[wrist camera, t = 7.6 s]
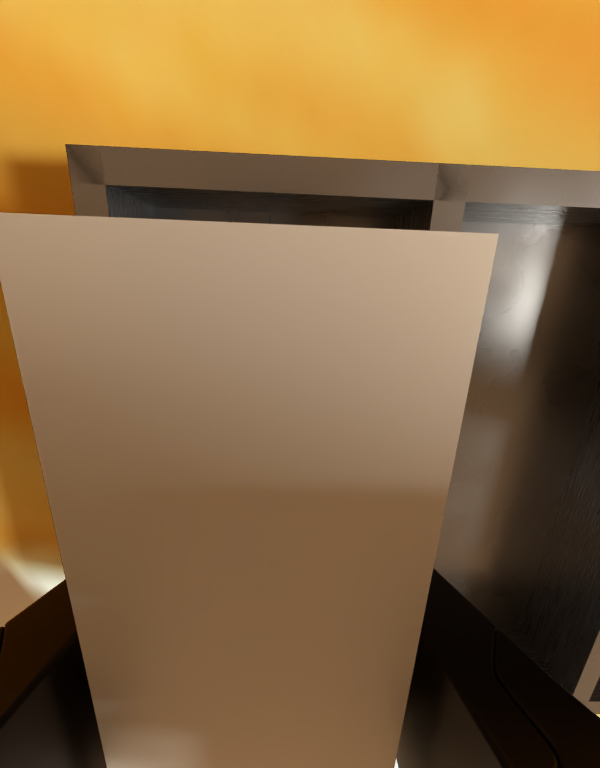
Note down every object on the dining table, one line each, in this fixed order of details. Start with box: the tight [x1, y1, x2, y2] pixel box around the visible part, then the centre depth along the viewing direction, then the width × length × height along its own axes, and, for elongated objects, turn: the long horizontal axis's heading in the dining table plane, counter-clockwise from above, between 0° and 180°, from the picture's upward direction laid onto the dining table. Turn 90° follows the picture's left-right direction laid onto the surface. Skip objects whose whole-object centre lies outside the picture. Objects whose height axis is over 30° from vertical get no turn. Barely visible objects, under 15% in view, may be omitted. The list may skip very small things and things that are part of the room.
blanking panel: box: [0, 212, 499, 768], centre depth 7 cm, size 4×12×5 cm, turn 178°
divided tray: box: [65, 144, 600, 714], centre depth 10 cm, size 20×16×3 cm
